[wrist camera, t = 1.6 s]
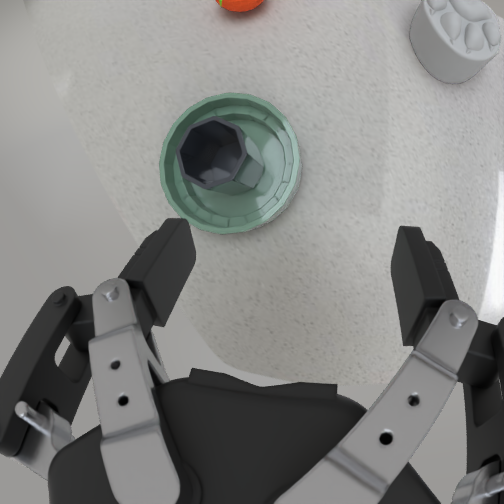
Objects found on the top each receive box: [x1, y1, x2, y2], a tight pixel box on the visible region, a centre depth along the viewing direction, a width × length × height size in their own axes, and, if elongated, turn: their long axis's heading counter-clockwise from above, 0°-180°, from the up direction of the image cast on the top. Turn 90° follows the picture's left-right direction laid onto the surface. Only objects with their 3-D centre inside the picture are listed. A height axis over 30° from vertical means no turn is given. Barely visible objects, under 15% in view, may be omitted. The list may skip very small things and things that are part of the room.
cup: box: [175, 116, 264, 195], centre depth 28 cm, size 6×6×8 cm
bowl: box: [159, 93, 302, 234], centre depth 30 cm, size 14×14×5 cm
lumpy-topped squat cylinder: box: [410, 0, 501, 84], centre depth 21 cm, size 10×13×9 cm
